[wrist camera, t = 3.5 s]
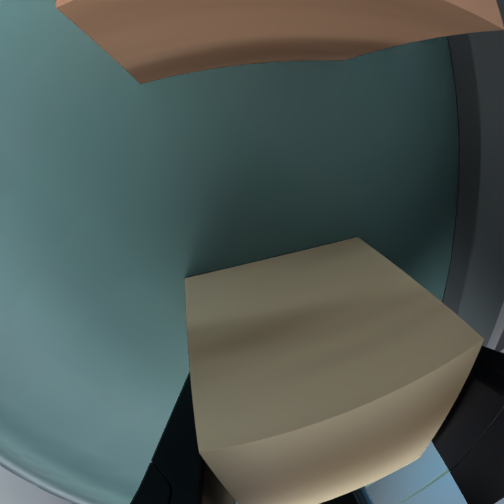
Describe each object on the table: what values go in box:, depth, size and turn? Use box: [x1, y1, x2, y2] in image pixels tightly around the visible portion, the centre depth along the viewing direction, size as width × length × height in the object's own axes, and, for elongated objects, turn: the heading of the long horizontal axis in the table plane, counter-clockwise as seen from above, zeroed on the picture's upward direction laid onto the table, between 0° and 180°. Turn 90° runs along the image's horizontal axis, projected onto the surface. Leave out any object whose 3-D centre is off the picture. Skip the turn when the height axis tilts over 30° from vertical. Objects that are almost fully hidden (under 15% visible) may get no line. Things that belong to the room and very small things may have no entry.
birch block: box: [185, 237, 484, 504], centre depth 7 cm, size 5×5×5 cm
